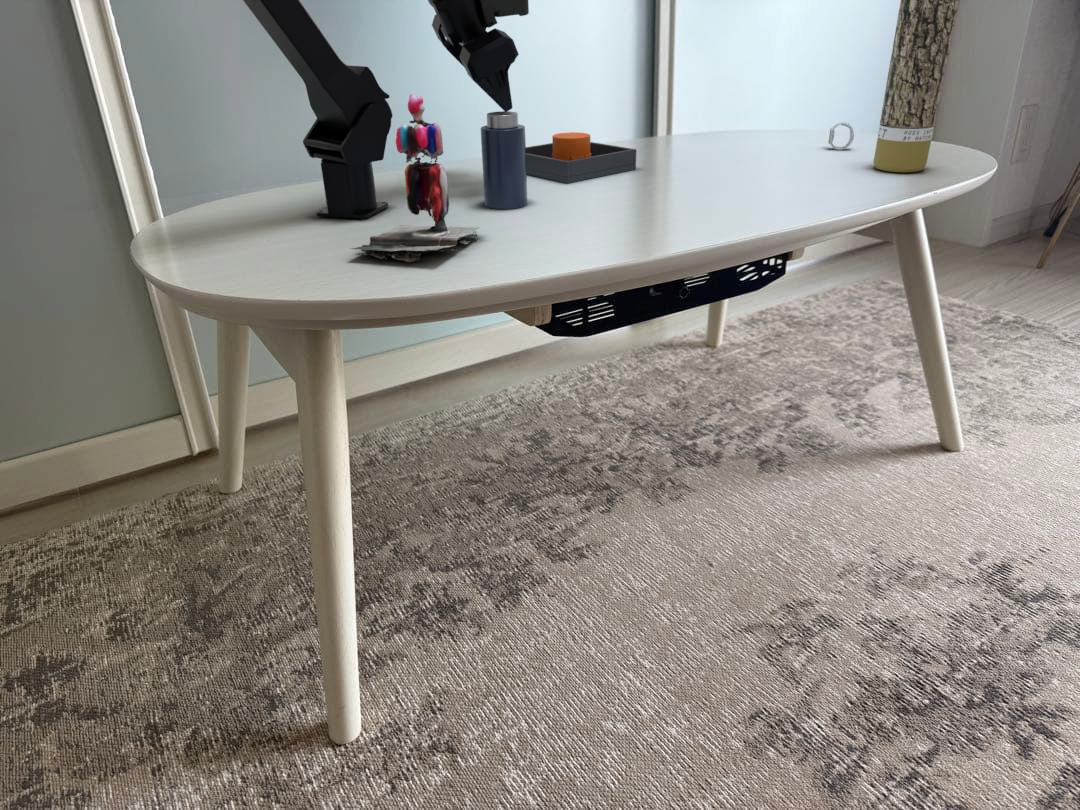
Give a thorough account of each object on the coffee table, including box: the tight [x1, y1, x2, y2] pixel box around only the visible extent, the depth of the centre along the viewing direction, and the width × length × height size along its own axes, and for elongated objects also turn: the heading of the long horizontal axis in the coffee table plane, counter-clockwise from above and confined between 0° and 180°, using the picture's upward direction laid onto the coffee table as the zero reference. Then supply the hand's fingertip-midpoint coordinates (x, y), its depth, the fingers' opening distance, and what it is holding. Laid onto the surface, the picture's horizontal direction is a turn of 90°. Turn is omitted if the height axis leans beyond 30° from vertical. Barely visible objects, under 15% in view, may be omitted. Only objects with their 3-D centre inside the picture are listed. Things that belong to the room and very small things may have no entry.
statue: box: [350, 94, 481, 263], centre depth 76 cm, size 11×9×15 cm
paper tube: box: [873, 0, 960, 174], centre depth 102 cm, size 7×7×25 cm
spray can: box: [480, 110, 528, 210], centre depth 93 cm, size 5×5×10 cm
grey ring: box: [828, 122, 855, 151], centre depth 122 cm, size 4×2×4 cm, turn 70°
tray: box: [526, 141, 637, 184], centre depth 113 cm, size 13×13×3 cm
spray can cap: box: [552, 131, 591, 161], centre depth 112 cm, size 5×5×4 cm
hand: (498, 97), depth 104 cm, fingers open, 9 cm apart
